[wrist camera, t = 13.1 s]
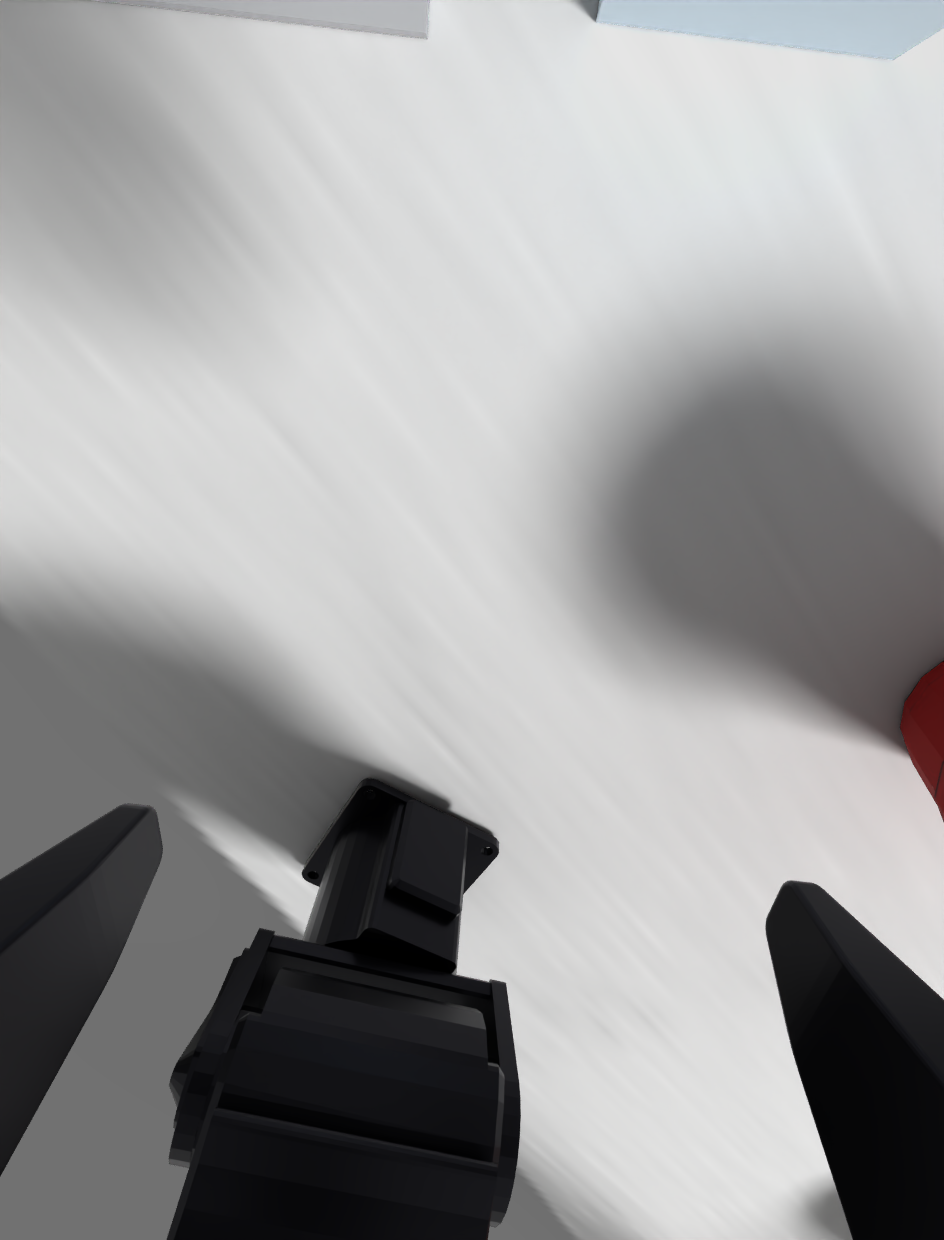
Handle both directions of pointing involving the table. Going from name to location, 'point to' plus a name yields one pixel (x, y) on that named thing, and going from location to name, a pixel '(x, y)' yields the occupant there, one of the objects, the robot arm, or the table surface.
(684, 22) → the light blue block
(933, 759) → the plastic cup
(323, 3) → the mat
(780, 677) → the table surface
